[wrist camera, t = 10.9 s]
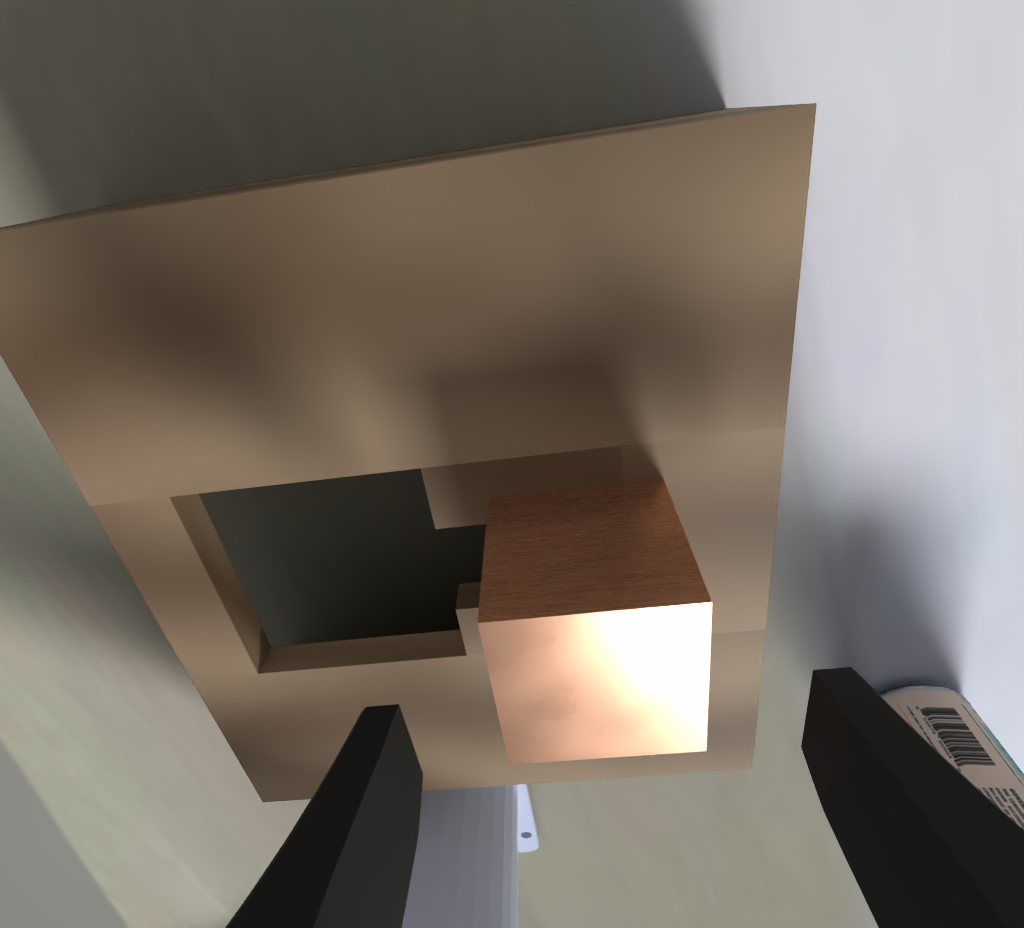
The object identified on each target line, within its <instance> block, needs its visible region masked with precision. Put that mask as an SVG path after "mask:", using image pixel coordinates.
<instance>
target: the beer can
mask: <svg viewBox="0 0 1024 928" xmlns="http://www.w3.org/2000/svg"><path fill="white" fill-rule="evenodd" d="M880 696H881V697H882V698H883V699H884V700H885V701H886V702H887V703H888V704H889V705H890V706H891V707H892V708H893V709H894V710H895V711H896V712H897V713H898V714H899V715H900V716H901V717H902V718H903V719H904V720H905V721H906V722H908V723H909V724H910V725H911V726H912V727H913V728H914V729H915V730H916V731H917V732H918V733H919V734H920V735H921V736H922V737H923V738H924V739H925V740H926V741H927V742H928V743H929V744H930V745H931V746H932V747H933V748H934V749H936V750H937V751H938V752H939V753H940V754H941V755H942V756H943V757H944V758H945V759H946V760H947V761H948V762H949V763H950V764H952V765H953V766H954V767H955V768H956V769H957V770H958V771H959V772H960V773H961V774H962V775H964V776H965V777H966V778H967V779H968V780H969V781H970V782H971V783H972V784H973V785H974V786H976V787H977V788H978V789H979V790H980V791H981V792H982V793H983V794H984V795H985V796H986V797H988V798H989V799H990V800H991V801H992V802H993V803H994V804H995V805H996V806H998V807H999V808H1000V809H1001V810H1002V811H1003V812H1004V813H1006V814H1007V815H1008V816H1009V817H1010V818H1011V819H1012V820H1013V821H1015V822H1016V823H1017V824H1018V825H1019V826H1020V827H1022V828H1023V829H1024V774H1023V773H1022V771H1021V770H1020V769H1019V767H1018V766H1017V765H1016V763H1015V762H1014V761H1013V759H1012V758H1011V757H1010V756H1009V754H1008V753H1007V752H1006V750H1005V749H1004V748H1003V746H1002V745H1001V744H1000V742H999V741H998V740H997V739H996V737H995V736H994V735H993V733H992V732H991V731H990V729H989V728H988V727H987V726H986V724H985V723H984V722H983V720H982V719H981V718H980V716H979V715H978V714H977V712H976V711H975V710H974V709H973V707H972V706H971V704H970V703H969V702H968V701H967V700H966V699H965V697H964V696H962V695H961V694H959V693H957V692H956V691H953V690H950V689H948V688H944V687H935V686H909V687H902V688H897V689H893V690H891V691H888V692H885V693H883V694H881V695H880Z"/></svg>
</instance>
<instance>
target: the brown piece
mask: <svg viewBox="0 0 1024 928" xmlns="http://www.w3.org/2000/svg"><path fill="white" fill-rule="evenodd" d="M711 618H712V601H711V598H710V595H709V593H708V590H707V588H706V585H705V583H704V580H703V578H702V575H701V573H700V570H699V567H698V565H697V562H696V560H695V557H694V555H693V552H692V550H691V547H690V545H689V542H688V539H687V537H686V534H685V532H684V529H683V527H682V524H681V522H680V519H679V517H678V514H677V511H676V509H675V506H674V504H673V501H672V499H671V496H670V494H669V491H668V489H667V486H666V483H665V481H664V479H655V480H646V481H637V482H627V483H618V484H609V485H599V486H590V487H580V488H571V489H562V490H552V491H543V492H534V493H524V494H515V495H505V496H496V497H489V500H488V511H487V522H486V533H485V544H484V555H483V566H482V577H481V588H480V599H479V611H478V622H477V624H478V628H479V633H480V637H481V642H482V646H483V650H484V655H485V659H486V664H487V668H488V673H489V677H490V682H491V686H492V691H493V695H494V699H495V704H496V708H497V713H498V717H499V722H500V726H501V731H502V735H503V740H504V744H505V748H506V753H507V757H508V762H509V765H513V764H527V763H542V762H556V761H570V760H585V759H599V758H613V757H627V756H642V755H656V754H670V753H685V752H699V751H706V749H707V723H708V697H709V671H710V645H711Z"/></svg>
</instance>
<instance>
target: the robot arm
mask: <svg viewBox="0 0 1024 928" xmlns="http://www.w3.org/2000/svg"><path fill="white" fill-rule="evenodd" d="M801 747H802V750H803V753H804V756H805V759H806V762H807V765H808V768H809V771H810V774H811V777H812V780H813V783H814V785H815V788H816V791H817V794H818V796H819V799H820V802H821V805H822V807H823V810H824V812H825V815H826V817H827V819H828V821H829V823H830V825H831V828H832V830H833V832H834V834H835V836H836V838H837V840H838V842H839V845H840V847H841V849H842V851H843V853H844V855H845V857H846V860H847V862H848V864H849V866H850V868H851V870H852V872H853V874H854V876H855V879H856V881H857V883H858V885H859V887H860V889H861V891H862V893H863V895H864V897H865V900H866V902H867V904H868V906H869V908H870V910H871V912H872V914H873V916H874V918H875V921H876V923H877V925H878V927H879V928H1024V829H1023V828H1022V827H1020V826H1019V825H1018V824H1017V823H1016V822H1015V821H1013V820H1012V819H1011V818H1010V817H1009V816H1008V815H1007V814H1006V813H1004V812H1003V811H1002V810H1001V809H1000V808H999V807H998V806H996V805H995V804H994V803H993V802H992V801H991V800H990V799H989V798H988V797H986V796H985V795H984V794H983V793H982V792H981V791H980V790H979V789H978V788H977V787H976V786H974V785H973V784H972V783H971V782H970V781H969V780H968V779H967V778H966V777H965V776H964V775H962V774H961V773H960V772H959V771H958V770H957V769H956V768H955V767H954V766H953V765H952V764H950V763H949V762H948V761H947V760H946V759H945V758H944V757H943V756H942V755H941V754H940V753H939V752H938V751H937V750H936V749H934V748H933V747H932V746H931V745H930V744H929V743H928V742H927V741H926V740H925V739H924V738H923V737H922V736H921V735H920V734H919V733H918V732H917V731H916V730H915V729H914V728H913V727H912V726H911V725H910V724H909V723H908V722H906V721H905V720H904V719H903V718H902V717H901V716H900V715H899V714H898V713H897V712H896V711H895V710H894V709H893V708H892V707H891V706H890V705H889V704H888V703H887V702H886V701H885V700H884V699H883V698H882V697H881V696H880V695H879V694H878V693H877V692H876V691H875V690H874V689H873V688H872V687H871V686H870V685H869V684H868V683H867V682H866V681H865V680H864V679H863V678H862V677H861V676H860V675H859V674H858V673H857V672H856V671H855V670H854V669H852V668H851V667H846V668H834V669H822V670H813V675H812V681H811V688H810V694H809V701H808V707H807V713H806V720H805V726H804V733H803V739H802V745H801ZM422 783H423V772H422V769H421V766H420V763H419V760H418V758H417V755H416V752H415V749H414V746H413V743H412V740H411V737H410V734H409V732H408V729H407V726H406V723H405V720H404V717H403V714H402V711H401V708H400V706H399V704H394V705H382V706H370V707H366V708H365V709H364V710H363V711H362V712H361V714H360V716H359V717H358V719H357V721H356V723H355V725H354V726H353V728H352V730H351V732H350V734H349V735H348V737H347V739H346V741H345V743H344V744H343V746H342V748H341V750H340V751H339V753H338V755H337V757H336V758H335V760H334V762H333V764H332V765H331V767H330V769H329V771H328V772H327V774H326V776H325V777H324V779H323V781H322V782H321V784H320V786H319V788H318V789H317V791H316V792H315V794H314V796H313V797H312V799H311V801H310V802H309V804H308V805H307V807H306V809H305V810H304V812H303V813H302V815H301V817H300V818H299V820H298V822H297V823H296V825H295V826H294V828H293V830H292V831H291V833H290V834H289V836H288V837H287V839H286V841H285V842H284V844H283V845H282V847H281V848H280V850H279V851H278V853H277V854H276V856H275V857H274V859H273V860H272V862H271V863H270V864H269V866H268V867H267V869H266V870H265V872H264V873H263V875H262V876H261V878H260V879H259V881H258V882H257V884H256V885H255V887H254V888H253V890H252V891H251V893H250V894H249V896H248V897H247V898H246V900H245V901H244V903H243V904H242V905H241V907H240V908H239V910H238V911H237V912H236V914H235V915H234V917H233V918H232V919H231V921H230V922H229V924H228V925H227V926H226V928H518V885H519V852H531V851H535V850H536V849H537V848H538V847H539V837H538V832H537V827H536V822H535V817H534V813H533V808H532V803H531V798H530V794H529V789H528V784H521V785H506V786H491V787H477V788H462V789H448V790H433V791H422Z"/></svg>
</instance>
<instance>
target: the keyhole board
mask: <svg viewBox="0 0 1024 928" xmlns="http://www.w3.org/2000/svg"><path fill="white" fill-rule="evenodd" d="M815 113H816V103H814V104H797V105H780V106H762V107H745V108H728V109H721V110H715V111H708V112H702V113H696V114H689V115H683V116H677V117H670V118H664V119H658V120H651V121H645V122H638V123H632V124H626V125H619V126H613V127H607V128H600V129H594V130H588V131H581V132H575V133H569V134H562V135H556V136H550V137H543V138H537V139H531V140H524V141H518V142H512V143H505V144H499V145H493V146H486V147H480V148H473V149H467V150H461V151H454V152H448V153H442V154H435V155H429V156H423V157H416V158H410V159H404V160H397V161H391V162H385V163H378V164H372V165H366V166H359V167H353V168H347V169H340V170H334V171H328V172H321V173H315V174H308V175H302V176H296V177H289V178H283V179H277V180H270V181H264V182H258V183H251V184H245V185H239V186H232V187H226V188H220V189H213V190H207V191H201V192H194V193H188V194H182V195H175V196H169V197H162V198H156V199H150V200H143V201H137V202H131V203H124V204H118V205H112V206H105V207H99V208H94V209H89V210H84V211H79V212H75V213H70V214H65V215H60V216H55V217H50V218H45V219H40V220H36V221H31V222H26V223H21V224H16V225H11V226H6V227H2V228H0V355H1V356H2V358H3V360H4V361H5V363H6V365H7V367H8V368H9V370H10V372H11V373H12V375H13V377H14V378H15V380H16V382H17V384H18V385H19V387H20V389H21V390H22V392H23V394H24V395H25V397H26V399H27V401H28V402H29V404H30V406H31V407H32V409H33V411H34V413H35V414H36V416H37V418H38V419H39V421H40V423H41V424H42V426H43V428H44V430H45V431H46V433H47V435H48V436H49V438H50V440H51V442H52V443H53V445H54V447H55V448H56V450H57V452H58V453H59V455H60V457H61V459H62V460H63V462H64V464H65V465H66V467H67V469H68V471H69V472H70V474H71V476H72V477H73V479H74V481H75V482H76V484H77V486H78V488H79V489H80V491H81V493H82V494H83V496H84V498H85V499H86V501H87V503H88V505H89V506H90V508H91V510H92V511H93V513H94V515H95V517H96V518H97V520H98V522H99V523H100V525H101V527H102V528H103V530H104V532H105V534H106V535H107V537H108V539H109V540H110V542H111V544H112V546H113V547H114V549H115V551H116V552H117V554H118V556H119V557H120V559H121V561H122V563H123V564H124V566H125V568H126V569H127V571H128V573H129V575H130V576H131V578H132V580H133V581H134V583H135V585H136V586H137V588H138V590H139V592H140V593H141V595H142V597H143V598H144V600H145V602H146V603H147V605H148V607H149V609H150V610H151V612H152V614H153V615H154V617H155V619H156V621H157V622H158V624H159V626H160V627H161V629H162V631H163V632H164V634H165V636H166V638H167V639H168V641H169V643H170V644H171V646H172V648H173V650H174V651H175V653H176V655H177V656H178V658H179V660H180V661H181V663H182V665H183V667H184V668H185V670H186V672H187V673H188V675H189V677H190V679H191V680H192V682H193V684H194V685H195V687H196V689H197V690H198V692H199V694H200V696H201V697H202V699H203V701H204V702H205V704H206V706H207V707H208V709H209V711H210V713H211V714H212V716H213V718H214V719H215V721H216V723H217V725H218V726H219V728H220V730H221V731H222V733H223V735H224V736H225V738H226V740H227V742H228V743H229V745H230V747H231V748H232V750H233V752H234V754H235V755H236V757H237V759H238V760H239V762H240V764H241V765H242V767H243V769H244V771H245V772H246V774H247V776H248V777H249V779H250V781H251V783H252V784H253V786H254V788H255V789H256V791H257V793H258V794H259V796H260V798H261V800H262V801H263V802H273V801H287V800H302V799H312V797H313V796H314V794H315V792H316V791H317V789H318V788H319V786H320V784H321V782H322V781H323V779H324V777H325V776H326V774H327V772H328V771H329V769H330V767H331V765H332V764H333V762H334V760H335V758H336V757H337V755H338V753H339V751H340V750H341V748H342V746H343V744H344V743H345V741H346V739H347V737H348V735H349V734H350V732H351V730H352V728H353V726H354V725H355V723H356V721H357V719H358V717H359V716H360V714H361V712H362V711H363V710H364V709H365V708H366V707H370V706H382V705H394V704H399V706H400V708H401V711H402V714H403V717H404V720H405V723H406V726H407V729H408V732H409V734H410V737H411V740H412V743H413V746H414V749H415V752H416V755H417V758H418V760H419V763H420V766H421V769H422V772H423V783H422V791H433V790H448V789H462V788H477V787H491V786H506V785H521V784H535V783H550V782H564V781H579V780H593V779H608V778H623V777H637V776H652V775H666V774H681V773H695V772H710V771H725V770H739V769H752V766H753V756H754V745H755V735H756V725H757V714H758V704H759V694H760V683H761V673H762V662H763V652H764V642H765V631H766V621H767V611H768V600H769V590H770V580H771V569H772V559H773V548H774V538H775V528H776V517H777V507H778V497H779V486H780V476H781V466H782V455H783V445H784V434H785V424H786V414H787V403H788V393H789V383H790V372H791V362H792V352H793V341H794V331H795V321H796V310H797V300H798V289H799V279H800V269H801V258H802V248H803V238H804V227H805V217H806V207H807V196H808V186H809V175H810V165H811V155H812V144H813V134H814V124H815ZM419 468H420V469H421V473H422V477H423V481H424V485H425V489H426V493H427V497H428V501H429V505H430V509H431V513H432V517H433V521H434V525H435V529H443V528H452V527H462V526H471V525H481V524H486V522H487V511H488V500H489V497H496V496H505V495H515V494H524V493H534V492H543V491H552V490H562V489H571V488H580V487H590V486H599V485H609V484H618V483H627V482H637V481H646V480H655V479H664V481H665V483H666V486H667V489H668V491H669V494H670V496H671V499H672V501H673V504H674V506H675V509H676V511H677V514H678V517H679V519H680V522H681V524H682V527H683V529H684V532H685V534H686V537H687V539H688V542H689V545H690V547H691V550H692V552H693V555H694V557H695V560H696V562H697V565H698V567H699V570H700V573H701V575H702V578H703V580H704V583H705V585H706V588H707V590H708V593H709V595H710V598H711V601H712V618H711V645H710V671H709V697H708V723H707V749H706V751H699V752H685V753H670V754H656V755H642V756H627V757H613V758H599V759H585V760H570V761H556V762H542V763H527V764H513V765H509V762H508V757H507V753H506V748H505V744H504V740H503V735H502V731H501V726H500V722H499V717H498V713H497V708H496V704H495V699H494V695H493V691H492V686H491V682H490V677H489V673H488V668H487V664H486V659H485V655H484V650H483V646H482V642H481V637H480V633H479V628H478V624H477V622H478V611H479V599H480V588H481V582H474V583H464V584H459V588H458V595H457V603H456V614H457V618H458V622H459V626H460V630H451V631H440V632H429V633H418V634H407V635H396V636H385V637H374V638H363V639H352V640H341V641H330V642H319V643H308V644H297V645H286V646H275V647H271V646H270V644H269V642H268V639H267V637H266V635H265V633H264V631H263V629H262V627H261V625H260V623H259V620H258V618H257V616H256V614H255V612H254V610H253V608H252V606H251V603H250V601H249V599H248V597H247V595H246V593H245V591H244V589H243V587H242V584H241V582H240V580H239V578H238V576H237V574H236V572H235V570H234V567H233V565H232V563H231V561H230V559H229V557H228V555H227V553H226V551H225V548H224V546H223V544H222V542H221V540H220V538H219V536H218V534H217V531H216V529H215V527H214V525H213V523H212V521H211V519H210V517H209V515H208V512H207V510H206V508H205V506H204V504H203V502H202V500H201V498H200V495H199V494H200V493H209V492H217V491H226V490H235V489H244V488H253V487H261V486H270V485H279V484H288V483H297V482H305V481H314V480H323V479H332V478H340V477H349V476H358V475H367V474H376V473H384V472H393V471H402V470H411V469H419Z"/></svg>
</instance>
